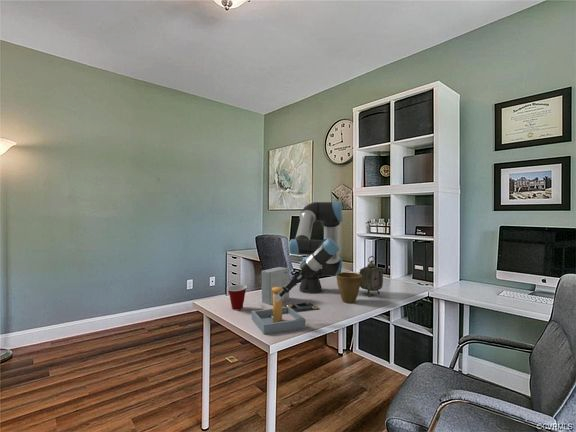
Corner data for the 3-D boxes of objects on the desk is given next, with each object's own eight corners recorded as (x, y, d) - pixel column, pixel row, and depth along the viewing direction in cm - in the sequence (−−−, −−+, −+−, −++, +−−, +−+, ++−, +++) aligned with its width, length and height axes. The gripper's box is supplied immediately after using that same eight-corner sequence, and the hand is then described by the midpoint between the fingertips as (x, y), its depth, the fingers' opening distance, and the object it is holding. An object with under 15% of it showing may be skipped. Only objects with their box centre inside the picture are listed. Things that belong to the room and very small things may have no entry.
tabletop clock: (370, 298, 189) (370, 257, 189) (358, 295, 196) (358, 256, 196) (382, 294, 199) (383, 255, 199) (370, 291, 206) (371, 254, 205)
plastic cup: (223, 307, 168) (223, 286, 168) (240, 304, 175) (240, 283, 175) (233, 313, 160) (233, 290, 160) (250, 309, 167) (250, 287, 167)
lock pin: (281, 318, 149) (281, 286, 149) (285, 322, 144) (285, 289, 144) (269, 320, 147) (270, 287, 147) (273, 324, 142) (274, 290, 142)
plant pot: (331, 299, 186) (331, 273, 186) (352, 296, 192) (352, 271, 191) (344, 306, 172) (345, 278, 172) (366, 303, 178) (366, 276, 178)
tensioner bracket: (310, 305, 173) (310, 300, 173) (320, 312, 162) (320, 306, 162) (284, 308, 167) (284, 303, 167) (292, 315, 156) (292, 310, 156)
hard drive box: (280, 299, 185) (281, 266, 185) (289, 302, 180) (290, 268, 180) (261, 304, 174) (261, 270, 174) (269, 307, 169) (270, 272, 169)
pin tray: (288, 314, 159) (288, 306, 159) (305, 327, 140) (305, 319, 140) (251, 319, 151) (251, 311, 151) (263, 334, 133) (263, 325, 133)
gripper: (312, 277, 128) (278, 310, 132) (320, 266, 153) (290, 294, 156) (300, 264, 129) (266, 297, 133) (309, 255, 154) (280, 283, 157)
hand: (279, 295), depth 145 cm, fingers open, 13 cm apart
